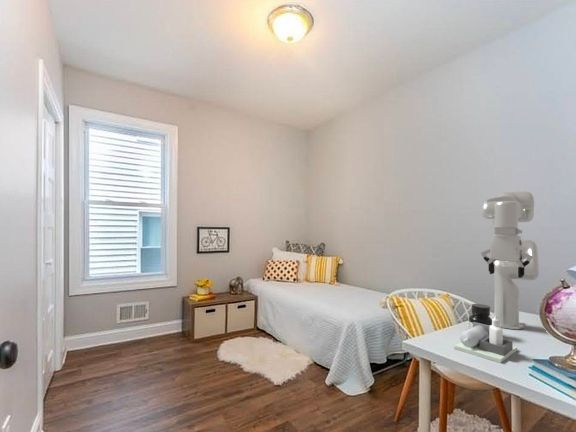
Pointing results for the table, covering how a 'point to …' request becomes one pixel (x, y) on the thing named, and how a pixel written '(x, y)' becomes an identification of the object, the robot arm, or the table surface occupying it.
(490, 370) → the table surface
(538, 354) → the table surface
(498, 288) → the robot arm
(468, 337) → the motor mount
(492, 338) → the eye dropper bottle
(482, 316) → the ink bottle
